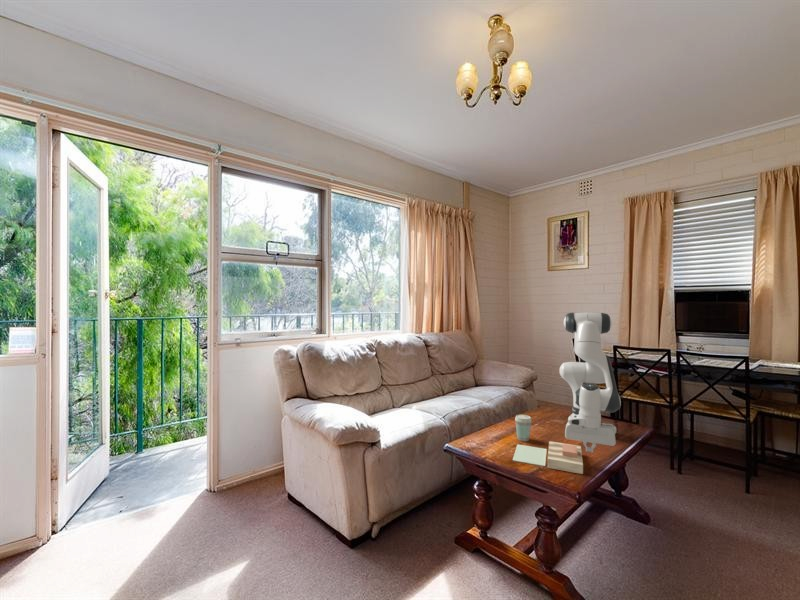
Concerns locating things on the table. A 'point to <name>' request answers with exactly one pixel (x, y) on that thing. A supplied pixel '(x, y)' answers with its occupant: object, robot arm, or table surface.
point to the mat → (530, 455)
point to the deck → (564, 459)
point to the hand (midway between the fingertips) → (589, 451)
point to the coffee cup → (523, 427)
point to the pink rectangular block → (569, 450)
